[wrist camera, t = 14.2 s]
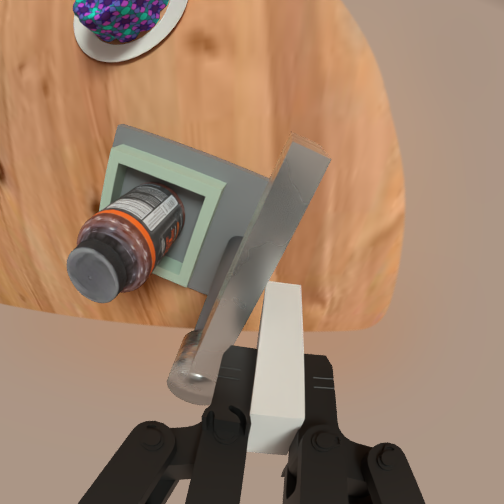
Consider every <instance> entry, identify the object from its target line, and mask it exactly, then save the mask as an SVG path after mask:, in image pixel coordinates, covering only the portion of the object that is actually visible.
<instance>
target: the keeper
mask: <svg viewBox="0 0 504 504" xmlns="http://www.w3.org/2000/svg"><path fill="white" fill-rule="evenodd" d="M330 161H331V158H330V157H329V156H328V154H327V153H326V152H325V151H324V149H323V148H322V147H321V145H319V144H317V143H315V142H313V141H311V140H309V139H307V138H304V137H302V136H300V135H298V134H296V133H293V132H290V134H289V137H288V139H287V141H286V143H285V145H284V147H283V150H282V152H281V154H280V156H279V158H278V161H277V163H276V165H275V167H274V170H273V172H272V174H271V176H270V178H269V181H268V183H267V185H266V187H265V189H264V192H263V194H262V196H261V198H260V201H259V203H258V205H257V207H256V210H255V212H254V214H253V216H252V219H251V221H250V223H249V225H248V228H247V230H246V232H245V234H244V237H243V239H242V241H241V243H240V246H239V248H238V250H237V252H236V255H235V257H234V259H233V262H232V264H231V266H230V268H229V271H228V273H227V275H226V278H225V280H224V282H223V284H222V287H221V289H220V291H219V294H218V296H217V298H216V301H215V303H214V305H213V308H212V310H211V312H210V314H209V317H208V319H207V321H206V324H205V326H204V328H203V330H195V331H191V332H190V333H188V334H187V335H185V337H184V339H183V341H182V344H181V346H180V349H179V351H178V354H177V357H176V359H175V361H174V364H173V367H172V369H171V372H170V374H169V377H168V380H167V385H168V387H169V389H170V391H171V392H172V393H173V394H174V395H176V396H177V397H178V398H180V399H182V400H184V401H186V402H189V403H192V404H197V405H211V402H212V398H213V393H214V389H215V385H216V381H217V377H218V372H219V368H220V364H221V360H222V356H223V354H224V352H225V351H226V350H227V349H228V348H229V347H230V346H231V345H234V343H235V341H236V339H237V338H238V336H239V334H240V332H241V330H242V329H243V327H244V325H245V323H246V321H247V320H248V318H249V316H250V314H251V312H252V310H253V309H254V307H255V305H256V303H257V301H258V299H259V298H260V296H261V294H262V292H263V290H264V288H265V287H266V285H267V283H268V281H269V279H270V277H271V275H272V274H273V272H274V270H275V268H276V266H277V264H278V262H279V260H280V258H281V257H282V255H283V253H284V251H285V249H286V247H287V245H288V243H289V241H290V239H291V238H292V236H293V234H294V232H295V230H296V228H297V226H298V224H299V222H300V220H301V218H302V216H303V214H304V213H305V211H306V209H307V207H308V205H309V203H310V201H311V199H312V197H313V195H314V193H315V191H316V189H317V187H318V185H319V183H320V181H321V179H322V177H323V175H324V173H325V171H326V169H327V167H328V165H329V163H330Z"/></svg>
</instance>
